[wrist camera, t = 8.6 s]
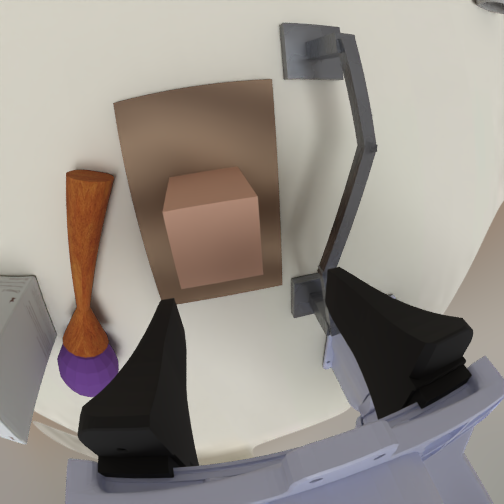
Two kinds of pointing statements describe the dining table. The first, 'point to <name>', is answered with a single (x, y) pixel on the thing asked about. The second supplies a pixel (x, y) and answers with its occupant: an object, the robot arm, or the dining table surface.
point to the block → (213, 227)
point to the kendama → (86, 286)
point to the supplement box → (22, 353)
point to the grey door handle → (332, 68)
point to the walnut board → (201, 167)
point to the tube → (492, 5)
